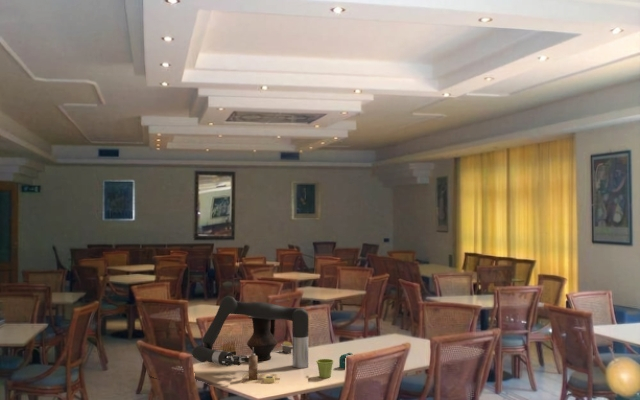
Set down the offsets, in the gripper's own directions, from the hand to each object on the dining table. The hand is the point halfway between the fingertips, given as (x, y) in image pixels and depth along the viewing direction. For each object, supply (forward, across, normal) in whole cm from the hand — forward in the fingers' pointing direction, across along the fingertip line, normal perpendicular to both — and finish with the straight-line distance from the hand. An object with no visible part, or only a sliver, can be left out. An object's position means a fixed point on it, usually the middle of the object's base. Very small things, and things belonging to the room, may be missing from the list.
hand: (245, 361), depth 342 cm
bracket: (+37, +54, +10) cm, 66 cm away
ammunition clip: (-37, +28, +10) cm, 48 cm away
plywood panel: (+8, +3, +10) cm, 13 cm away
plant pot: (+32, +29, +10) cm, 44 cm away
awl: (+5, 0, +8) cm, 10 cm away
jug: (-23, +44, +10) cm, 51 cm away
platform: (-21, +67, +10) cm, 71 cm away
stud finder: (+15, +1, +8) cm, 18 cm away
